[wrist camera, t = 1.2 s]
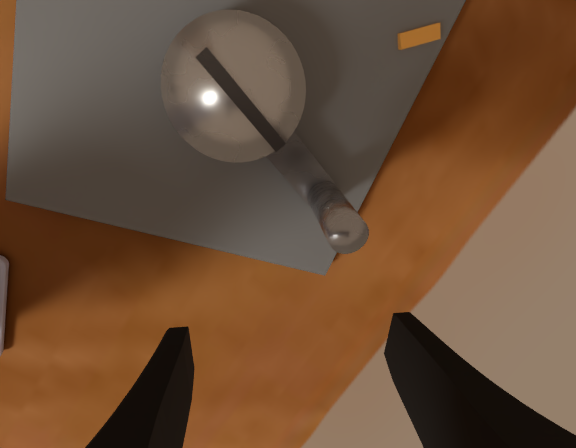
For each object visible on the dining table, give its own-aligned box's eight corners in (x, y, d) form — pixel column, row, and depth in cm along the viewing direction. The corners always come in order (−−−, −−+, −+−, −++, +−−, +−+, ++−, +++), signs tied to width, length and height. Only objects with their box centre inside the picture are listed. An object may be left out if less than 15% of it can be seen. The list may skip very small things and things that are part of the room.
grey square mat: (15, 192, 18) (2, 202, 17) (49, -301, 11) (29, -339, 10) (321, 266, 24) (326, 278, 22) (471, -33, 17) (489, -38, 16)
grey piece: (138, 77, 15) (102, 93, 11) (239, -22, 14) (246, -50, 10) (289, 233, 20) (307, 288, 16) (372, 169, 19) (417, 208, 15)
